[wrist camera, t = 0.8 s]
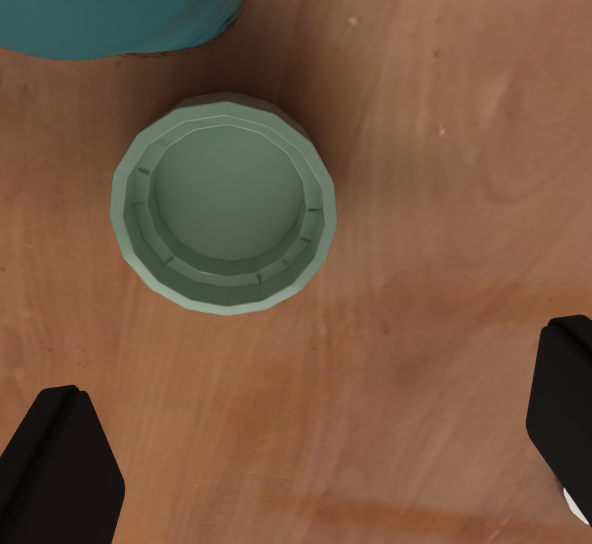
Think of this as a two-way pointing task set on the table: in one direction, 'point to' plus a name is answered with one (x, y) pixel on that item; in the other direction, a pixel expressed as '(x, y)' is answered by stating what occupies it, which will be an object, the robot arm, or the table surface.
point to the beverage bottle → (111, 26)
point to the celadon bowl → (223, 205)
